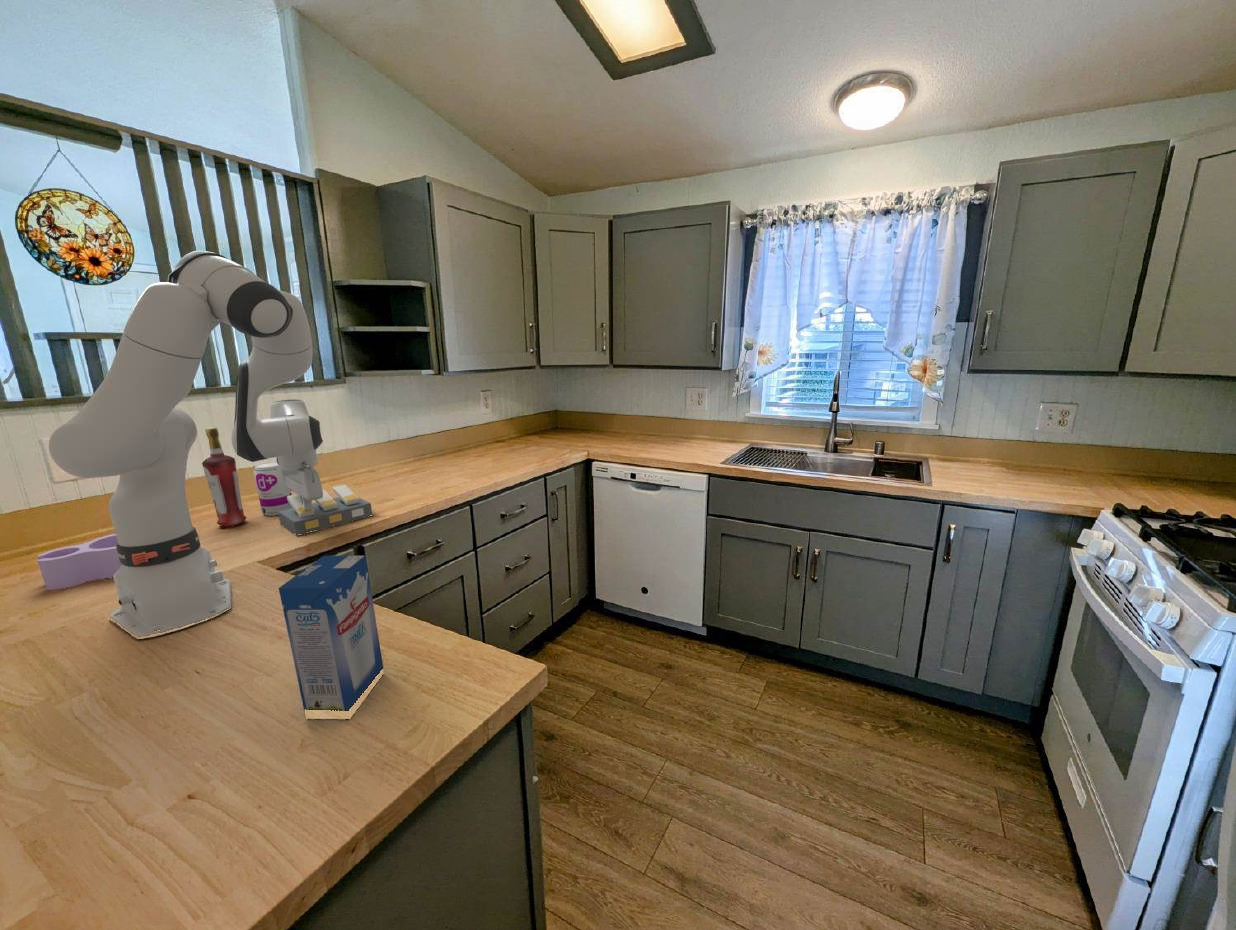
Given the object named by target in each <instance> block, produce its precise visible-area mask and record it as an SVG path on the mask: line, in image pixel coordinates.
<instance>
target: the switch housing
mask: <svg viewBox="0 0 1236 930" xmlns="http://www.w3.org/2000/svg"><path fill="white" fill-rule="evenodd" d="M357 497H358V498H359V503H355V504H351V505H346V504H345V503H344V502H343V501H342V500H341V499H340V498H339V497H338V496H337V497H333V498H332V499H333V500H334V501H335V502H336V503H337V506H338V508H334V509H330V510H326V511H324V510H323V509H322V508H321V507H320V506H319V504H318V503H317V502H316V501H315V502H312V503H311V504H312V508H313V510H314V515H310V516H306V517H302V518H300V517H299V515H298V514H297V512H296V511H295V510H294V508H289V509H285V510H281V511H278V514H279V515H278V519H279V522H280V525H281V526H282V525H283V526H284V527H283V526H282V527H283V528H285V529H286V530H288V531H289V530H290V531H291V532H290V531H289V532H290V533H292V532H293V533H294V534H296V535H298V534H303V535H305V534H304V533H307V532H310V531H314V530H318V531H321V530H320V529H322V530H325V529H324V528H326V529H328V528H327V527H329V528H331V527H330V526H333V525H337V526H340V525H339V524H341V525H343V524H342V523H344V524H347V523H346V522H348V523H350V522H349V521H352V520H356V521H358V520H359V521H360V520H362V519H361V518H363V519H365V517H367V518H369V517H368V516H370V515H373V510H372V503H371V502H369V501H368V500H365V499H362V498H360V497H359V496H357ZM352 522H353V521H352ZM333 527H334V526H333ZM314 532H315V531H314ZM293 533H292V534H293ZM294 534H293V535H294ZM307 534H308V533H307ZM296 535H295V536H296Z"/></svg>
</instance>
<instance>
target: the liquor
mask: <svg viewBox="0 0 1236 930" xmlns="http://www.w3.org/2000/svg"><path fill="white" fill-rule="evenodd" d="M204 430H205V433H206V437H207V439H208V444H209V452H210V453H209V454H210V456H209V457H207V458H206V459H204V460H203V461H202V462H201V465H202V469H203V471H204V475H205V479H206V482H207V485H208V488H209V491H210V495H211V498H212V501H213V506H214V508H215V512H216V516H217V521H216V524H217V525H219V526H221V527H222V528H234V527H233V526H235V527H238V526H241V525H242V524H243V523H244V522H245V521H246V520H247V518H248V517H247V516H246V515H245V513H244V507H243V502H242V497H241V492H240V490H241V489H240V484H239V475H238V470H237V465H236V458H234V457H232V456H231V455H226V454H224V450H223V448H222V445H221V442H220V439H219V438H220V437H219V436H220V435H219V428H218V427H208V428H205V429H204ZM237 525H238V526H237Z"/></svg>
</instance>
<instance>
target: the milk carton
mask: <svg viewBox="0 0 1236 930" xmlns="http://www.w3.org/2000/svg"><path fill="white" fill-rule="evenodd" d="M366 556H367V555H364V554H362V555H361V554H360V555H359V554H358V555H355V554H354V555H349V554H348V555H323V556H321V557H320V558H319V559H317V560H316V561H314V562H313V563H311V564H310V565H309V566H308V567H306V568H304V569H303V570H301V571H300V572H299V573H298V574H296V575H295V576H294V577H292V578H291V579H289V580H288V581H287V582H285V583H283V584H282V585H281V586H280V587H278V592H279V596H280V601H281V607H282V611H283V616H284V619H285V621H284V622H285V624H286V629H287V634H288V635H287V637H288V640H289V645H290V650H291V655H292V659H293V664H294V668H295V674H296V678H297V683H298V687H299V689H298V690H299V692H300V697H301V702H302V706H303V707H302V708H303V711H304V710H305V709H306V710H331V711H332V710H334V711H335V710H336V711H338V710H339V711H349V709H350V708H351V707H352V706H353V705H354V703H356V701H357V700H358V698H360V696H361V695H362V693H364V691H365V690H366V689H367V688H368V686H369V685H370V684H371V683H372V681H373V680H374V679H375V677H376V676H377V675H378V674H379V673H380V671H381V670H382V669H384V664H383V657H382V651H381V645H380V638H379V633H378V632H379V631H378V624H377V619H376V613H375V606H374V599H373V593H372V587H371V581H370V580H371V579H370V574H369V570H368V569H369V568H368V563H367V557H366Z"/></svg>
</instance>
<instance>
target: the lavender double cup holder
mask: <svg viewBox="0 0 1236 930" xmlns="http://www.w3.org/2000/svg"><path fill="white" fill-rule="evenodd" d="M117 543H118V540H117V537H116V533H113V534H109V535H105V536H101V537H98V538H95V539H92V540H90V541H88V542H84V543H80V544H76V545H71V546H64V547H60V548H56V549H52V550H49V551H45V552H42V553H40V554H38V555H37V556H36V557H37V564H38V567H39V570H40V572H41V576H42V579H43V583H44V585H45V588H46V590H47V591H56V590H63V589H67V588H66V587H68V588H71V586H72V587H75V586H78V585H82V584H85V583H87V582H86V581H88V582H92V581H96V580H97V579H99V580H105V579H104V578H110V579H113V578H112V577H113V575H114V574H115V573H116V572H117V571H118V570H119V569H120V567H121V565H122V564H121V563H120V560H119V557H118V555H117V552H116V551H117V548H116V544H117ZM97 581H98V580H97ZM62 588H63V589H62Z"/></svg>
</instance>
